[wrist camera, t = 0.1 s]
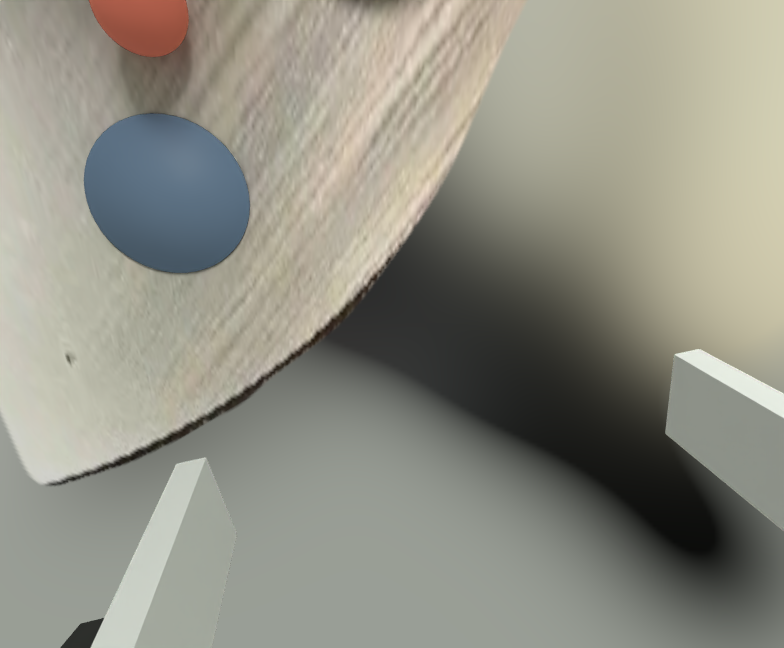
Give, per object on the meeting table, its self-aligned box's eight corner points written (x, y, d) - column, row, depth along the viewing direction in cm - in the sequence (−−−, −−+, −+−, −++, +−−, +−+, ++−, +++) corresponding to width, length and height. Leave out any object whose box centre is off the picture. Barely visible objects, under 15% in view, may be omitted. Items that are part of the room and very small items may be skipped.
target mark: (56, 128, 31) (54, 128, 31) (223, 101, 32) (222, 100, 32) (123, 284, 36) (122, 285, 36) (267, 257, 37) (266, 257, 37)
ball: (97, -26, 29) (49, -63, 24) (182, -37, 29) (152, -77, 24) (130, 69, 31) (93, 53, 26) (208, 57, 31) (187, 39, 26)
